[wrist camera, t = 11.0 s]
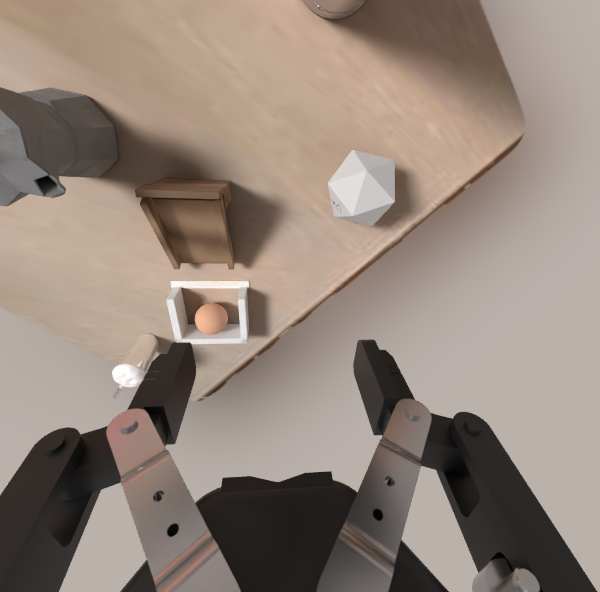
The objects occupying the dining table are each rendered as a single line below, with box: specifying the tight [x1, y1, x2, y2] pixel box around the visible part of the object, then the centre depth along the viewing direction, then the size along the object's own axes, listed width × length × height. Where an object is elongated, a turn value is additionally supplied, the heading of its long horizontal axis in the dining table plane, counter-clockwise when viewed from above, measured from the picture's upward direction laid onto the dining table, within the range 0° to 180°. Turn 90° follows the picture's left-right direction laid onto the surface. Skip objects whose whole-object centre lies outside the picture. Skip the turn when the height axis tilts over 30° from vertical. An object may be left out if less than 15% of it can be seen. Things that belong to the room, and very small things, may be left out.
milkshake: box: [112, 334, 159, 398], centre depth 46 cm, size 4×5×10 cm
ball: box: [195, 303, 228, 335], centre depth 45 cm, size 5×5×5 cm
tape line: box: [170, 281, 249, 288], centre depth 45 cm, size 1×12×1 cm, turn 87°
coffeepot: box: [0, 87, 118, 206], centre depth 26 cm, size 15×9×18 cm, turn 57°
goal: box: [166, 286, 249, 344], centre depth 46 cm, size 8×11×4 cm
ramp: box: [135, 179, 235, 269], centre depth 36 cm, size 12×8×9 cm
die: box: [328, 150, 395, 227], centre depth 36 cm, size 8×9×10 cm
